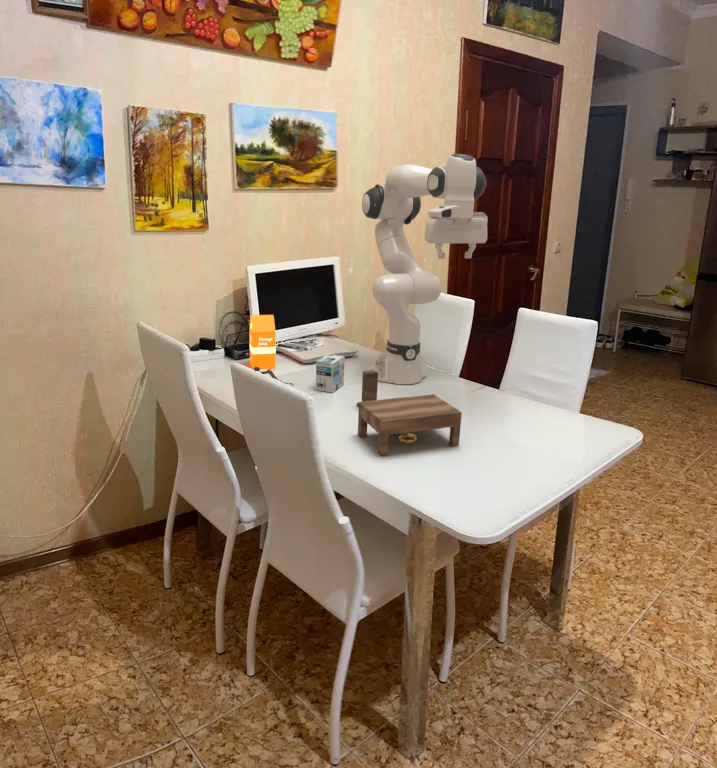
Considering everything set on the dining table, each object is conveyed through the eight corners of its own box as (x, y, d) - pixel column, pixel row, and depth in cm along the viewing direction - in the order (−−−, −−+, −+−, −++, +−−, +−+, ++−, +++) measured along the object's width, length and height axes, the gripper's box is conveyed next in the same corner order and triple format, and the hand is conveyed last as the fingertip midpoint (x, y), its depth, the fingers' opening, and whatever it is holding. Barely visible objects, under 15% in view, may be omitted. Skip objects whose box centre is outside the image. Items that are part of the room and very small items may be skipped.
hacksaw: (252, 370, 242) (252, 366, 241) (279, 368, 245) (279, 364, 245) (265, 389, 220) (265, 385, 220) (294, 387, 224) (294, 383, 223)
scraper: (355, 405, 207) (356, 370, 203) (375, 403, 209) (376, 368, 206) (386, 433, 185) (388, 394, 182) (408, 430, 188) (410, 392, 184)
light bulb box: (333, 393, 218) (333, 363, 215) (315, 390, 220) (315, 360, 217) (344, 384, 227) (345, 355, 224) (327, 382, 230) (327, 353, 226)
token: (395, 438, 182) (396, 434, 182) (411, 436, 184) (411, 432, 184) (403, 445, 178) (403, 440, 177) (419, 443, 180) (419, 438, 179)
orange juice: (249, 364, 248) (248, 313, 242) (272, 362, 251) (271, 312, 245) (252, 369, 241) (252, 317, 235) (276, 368, 244) (275, 317, 237)
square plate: (269, 351, 268) (269, 342, 267) (324, 343, 284) (324, 335, 283) (303, 367, 248) (303, 357, 246) (360, 358, 263) (360, 349, 262)
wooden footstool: (357, 434, 183) (359, 401, 180) (431, 425, 192) (433, 394, 189) (380, 456, 169) (382, 421, 166) (458, 445, 178) (461, 412, 175)
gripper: (482, 211, 197) (478, 256, 201) (423, 210, 189) (420, 257, 194) (493, 212, 191) (489, 259, 196) (433, 211, 184) (430, 260, 188)
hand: (454, 258), depth 195 cm, fingers open, 8 cm apart
